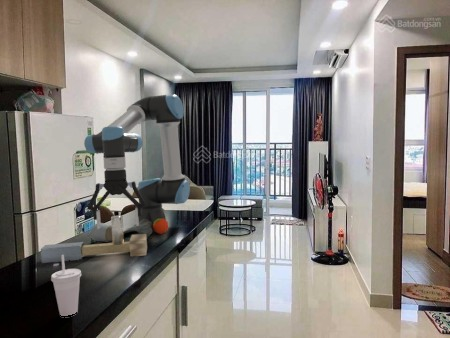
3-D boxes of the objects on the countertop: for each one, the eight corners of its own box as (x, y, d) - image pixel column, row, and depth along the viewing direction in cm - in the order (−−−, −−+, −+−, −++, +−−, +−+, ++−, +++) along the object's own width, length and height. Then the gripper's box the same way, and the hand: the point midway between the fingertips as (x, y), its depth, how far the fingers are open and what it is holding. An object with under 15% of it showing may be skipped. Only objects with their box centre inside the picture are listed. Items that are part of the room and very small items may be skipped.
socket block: (130, 256, 120) (129, 241, 120) (132, 249, 129) (131, 234, 129) (146, 255, 121) (145, 239, 121) (147, 248, 130) (146, 233, 130)
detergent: (146, 246, 133) (163, 229, 158) (143, 228, 133) (161, 214, 157) (114, 249, 134) (136, 232, 159) (112, 231, 134) (134, 217, 159)
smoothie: (60, 308, 82) (56, 251, 81) (87, 306, 82) (83, 250, 81) (48, 321, 75) (44, 260, 75) (78, 319, 76) (74, 258, 75)
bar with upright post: (72, 257, 119) (70, 220, 118) (75, 253, 123) (73, 218, 122) (139, 251, 123) (137, 216, 123) (139, 248, 127) (138, 214, 126)
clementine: (160, 236, 147) (159, 220, 147) (148, 235, 151) (147, 219, 150) (171, 232, 154) (171, 217, 154) (160, 231, 158) (159, 216, 157)
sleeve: (41, 263, 117) (40, 248, 116) (46, 258, 122) (45, 244, 121) (81, 259, 119) (80, 245, 119) (84, 255, 124) (83, 241, 124)
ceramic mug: (106, 244, 138) (106, 225, 138) (91, 242, 141) (90, 224, 141) (123, 238, 148) (122, 220, 148) (108, 236, 151) (107, 219, 151)
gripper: (76, 171, 116) (80, 232, 118) (149, 168, 121) (152, 226, 122) (81, 170, 123) (84, 227, 125) (150, 167, 128) (153, 221, 130)
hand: (118, 226), depth 124 cm, fingers open, 13 cm apart
